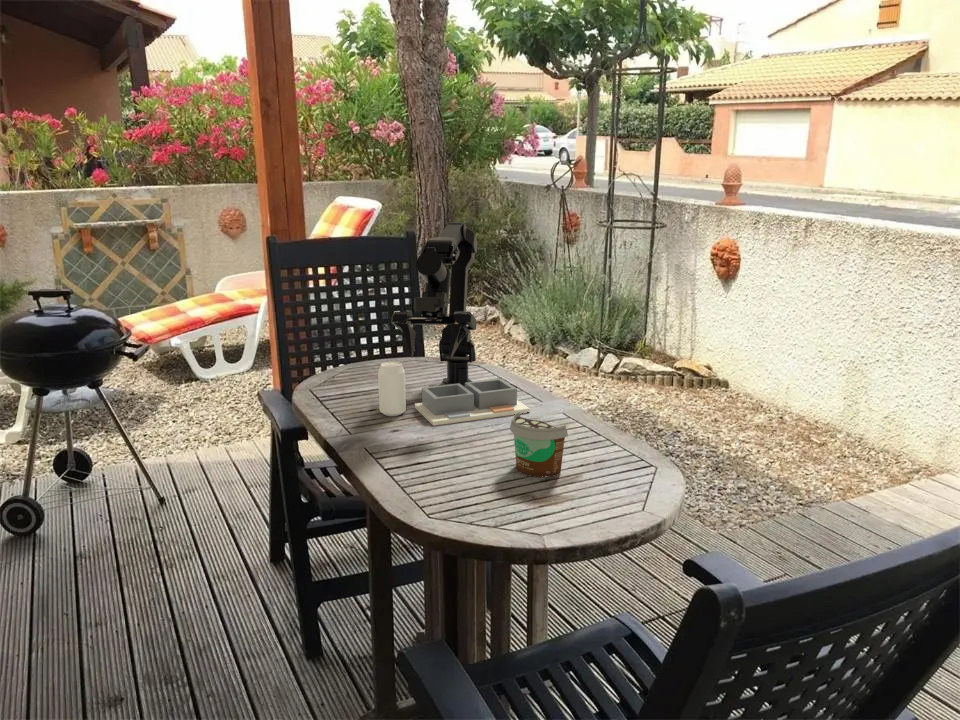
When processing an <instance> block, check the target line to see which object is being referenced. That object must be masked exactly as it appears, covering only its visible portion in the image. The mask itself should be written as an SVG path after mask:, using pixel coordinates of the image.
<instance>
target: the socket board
mask: <svg viewBox="0 0 960 720" xmlns="http://www.w3.org/2000/svg"><path fill="white" fill-rule="evenodd" d="M421 399H422V400H421V401H422V402H418V403H414V409H415V410H417V411H418V412H419V414H420V415H422V416H423V417H424V419H426V420H427V421H428V422H429V423H430V424H431V425H432V426H441V425H449V424H455V423H463V422H469V421H476V420H485V419H492V418H499V417H506V416H514V414H517V413H519V412H520V415H521V414H522V413H523V414H528V413H527V412H530V413H531V408H530V407H528V406H527V405H525V404H524V403H523V402H521V401H519V400H518V388H517V387H515V386H514V385H512V384H510V383H509V382H507V381H505V380H504V379H503V378H494V379H493V378H492V379H485V380H477V381H473V382H466V383H465V385H461V384H460V383H458V384H449V385H448V384H443V385H441V384H440V385H433V386H425V387H421Z"/></svg>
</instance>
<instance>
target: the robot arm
mask: <svg viewBox="0 0 960 720" xmlns="http://www.w3.org/2000/svg"><path fill="white" fill-rule="evenodd" d="M477 252H478V239H477V237H476V233H475V232H473V231H472V230H471V229H469V228H468V227H467V224H466V223H464V222H462V221H461V222H459V221H457V222H456V221H453V222H452V221H449V222H447V223H445V225H444V229H443V230H442V231H441V233H440V234H439V235H438V236H437V237H430V238H429V239H427V240H426V242H425V244H423V246H422V249H421V252H420V254H419V256H418V258H417V259H416V262H415V267H416V270H417V272H418V273H419V275H420V277H421V278H422V280H423V281H424V288H423V290H424V291H422V292H421V297H420V296H419V297H414V298H413V299H414V313H418V314H419V315H421V316H419V315H413V314H412V313H411V312H410V311H394V312H393V314H392V315H391V318H390V323H391V324H392V325H393V326H394V327H395V328H397V329H398V330H399V331H401V332H402V333H403V336H404V339H405V342H406V347H407V350H408V355H409V357H410V358H411V359H412V358H413V357H414V353H415V345H416V334H417V330H415V328H416V326H419V325H420V326H423V325H424V326H425V325H426V326H427V325H428V326H441V325H442V326H443V325H444V326H445V327H443V328H442V331H441V338H440V339H439V342H438V351H439V360H440V362H446V378H442V381H443V382H444V383H446V385H449V384H458V383H460V384H461V385H462V386H465V383H466V382H474V381H472V380H471V379H470V378H469V364H470V363H473V362H476V360H477V358H476V348H475V345H474V343H473V342H474V341H473V340H472V339H471V337H472V334H471V331H476V330H477V325H478V324H477V319H476V317H475V316H474V315H473V314H472V312H470V311H467V297H468V276H469V275H468V273H469V269H470V267H471V266H472V265H473V263H474V262H475V256H476V254H477ZM446 266H450V269H451V271H450V270H449V268H447V267H446ZM448 310H449V311H448Z"/></svg>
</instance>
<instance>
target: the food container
mask: <svg viewBox="0 0 960 720" xmlns="http://www.w3.org/2000/svg"><path fill="white" fill-rule="evenodd" d="M509 430H510V432H511V433H512V434H513V440H514V441H513V442H514V452H515V454H514V455H515V464H516V465H515V466H516V470H517V472H518V473H520V472H521V473H520V474H522V473H523V474H522V475H524V474H525V476H528V475H531V476H530V477H533V476H536V477H535V478H546V477H545V476H551V477H554V476H553V475H555V476H558V475H560V474H559V473H561V472H562V463H563V454H564V447H565V438H566V437H568V436H569V434H568V428H567V425H566V424H565V425H561V426H558V427H557V426H553V425H551V424H549V423H546V422H544V421H542V420H536V419H529V418H525V417H521V414H520V412H519V413H517V414H515V415H512V419H511V421H510V426H509ZM557 474H558V475H557ZM542 476H543V477H542Z"/></svg>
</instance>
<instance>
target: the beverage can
mask: <svg viewBox="0 0 960 720" xmlns="http://www.w3.org/2000/svg"><path fill="white" fill-rule="evenodd" d="M377 378H378V379H377V382H378V400H379V401H378V405H379V412H380V413H381V414H383V415H384V416H387V417H396V416H401V415H402V414H403V413H405V412H406V410H407V404H406V403H407V401H406V400H407V398H406V370H405V369H404V367H403V363H402V362H399V361H385V362H382V363H380V367H379V369H378V371H377Z"/></svg>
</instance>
